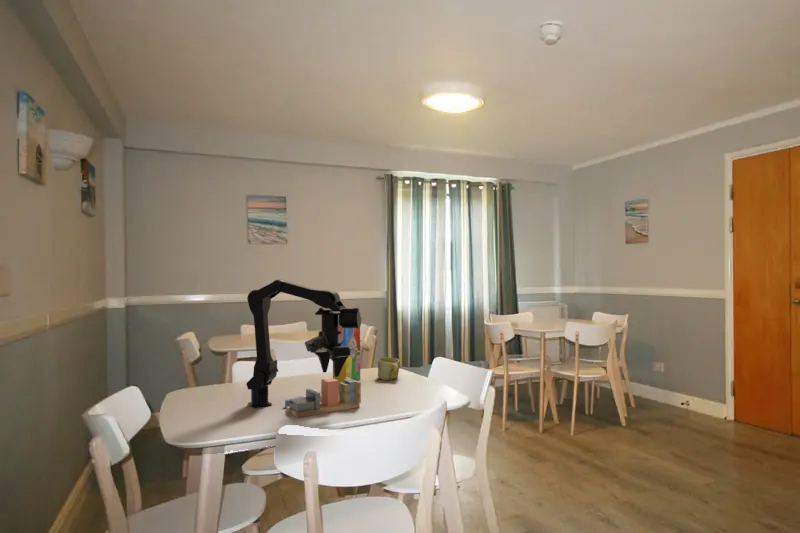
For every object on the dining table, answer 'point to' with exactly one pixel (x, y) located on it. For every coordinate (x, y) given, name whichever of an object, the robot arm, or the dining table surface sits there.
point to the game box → (352, 363)
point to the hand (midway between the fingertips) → (330, 374)
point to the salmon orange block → (330, 392)
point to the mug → (388, 368)
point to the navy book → (289, 399)
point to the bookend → (306, 401)
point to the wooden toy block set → (347, 399)
